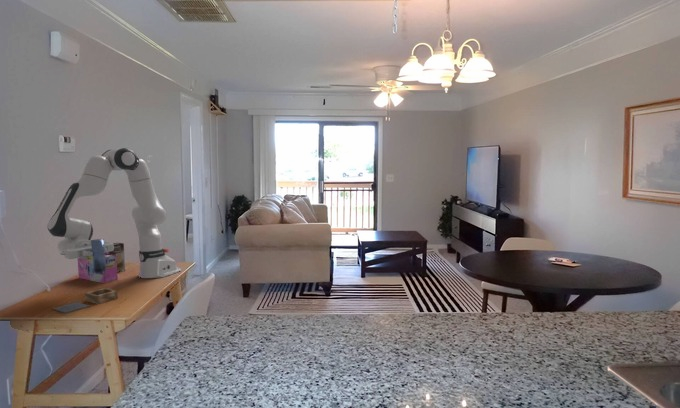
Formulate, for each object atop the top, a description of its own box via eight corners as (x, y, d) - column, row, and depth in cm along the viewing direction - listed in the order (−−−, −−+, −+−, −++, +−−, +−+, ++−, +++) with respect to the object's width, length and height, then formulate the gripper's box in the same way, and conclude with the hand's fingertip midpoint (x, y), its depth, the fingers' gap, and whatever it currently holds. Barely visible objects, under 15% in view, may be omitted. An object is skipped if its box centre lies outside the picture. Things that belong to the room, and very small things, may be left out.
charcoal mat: (77, 302, 194) (77, 301, 194) (89, 306, 189) (89, 305, 189) (53, 309, 186) (52, 308, 185) (65, 313, 180) (65, 312, 180)
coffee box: (110, 274, 243) (108, 245, 241) (103, 273, 246) (101, 245, 244) (125, 270, 251) (123, 243, 249) (118, 269, 254) (116, 242, 252)
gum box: (76, 278, 236) (74, 253, 235) (90, 274, 243) (89, 250, 242) (104, 283, 225) (102, 257, 224) (118, 279, 232) (116, 254, 231)
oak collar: (106, 295, 204) (105, 287, 204) (117, 298, 199) (117, 290, 199) (85, 300, 197) (85, 293, 196) (97, 304, 192) (96, 296, 191)
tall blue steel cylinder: (102, 268, 200) (100, 238, 199) (108, 270, 197) (106, 239, 196) (91, 271, 196) (88, 240, 195) (97, 272, 193) (94, 241, 192)
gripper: (57, 246, 194) (74, 249, 187) (103, 238, 211) (119, 241, 204) (58, 260, 195) (75, 264, 187) (104, 251, 212) (120, 254, 204)
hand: (98, 252), depth 196 cm, fingers closed on tall blue steel cylinder, 5 cm apart
